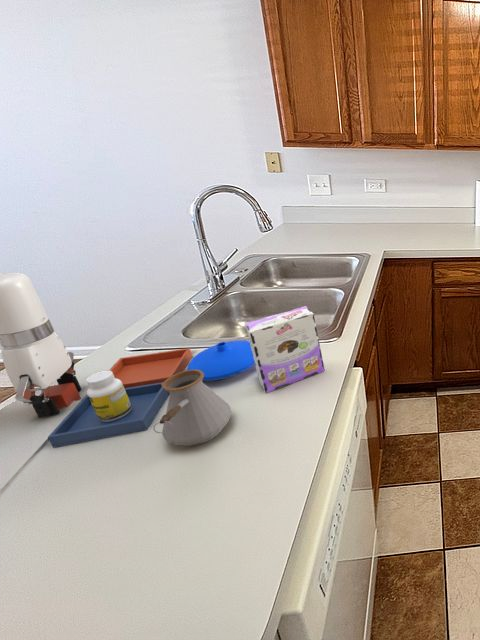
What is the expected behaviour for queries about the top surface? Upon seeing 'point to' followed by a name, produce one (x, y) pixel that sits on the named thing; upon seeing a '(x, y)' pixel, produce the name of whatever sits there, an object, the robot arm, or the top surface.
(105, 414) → the supplement bottle
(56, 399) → the rust block
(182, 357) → the rust tray
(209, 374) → the blue pot lid
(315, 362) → the candy box
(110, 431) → the blue tray
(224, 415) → the coffee pot
